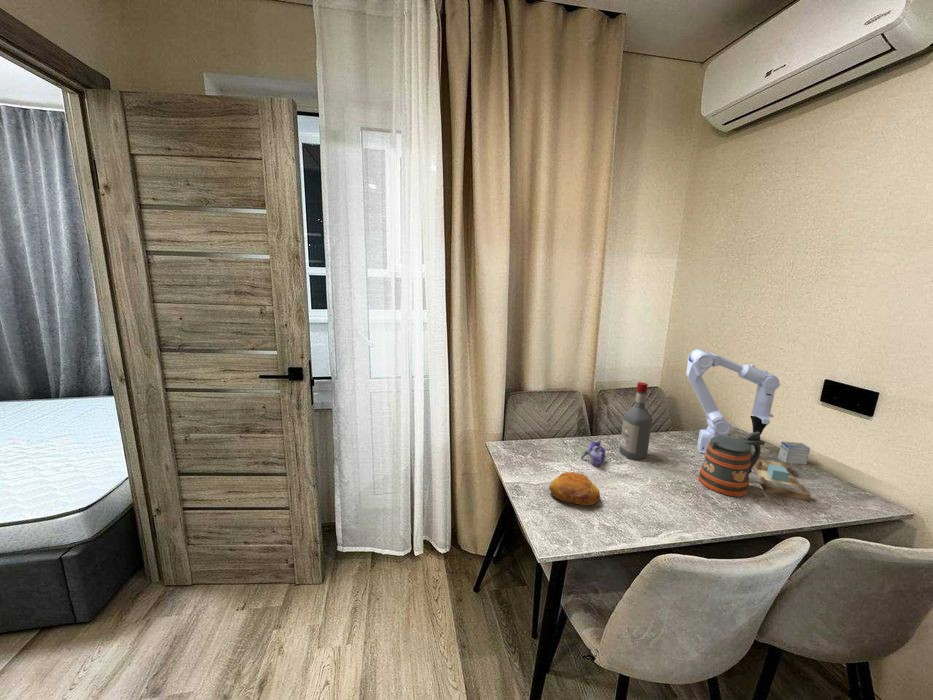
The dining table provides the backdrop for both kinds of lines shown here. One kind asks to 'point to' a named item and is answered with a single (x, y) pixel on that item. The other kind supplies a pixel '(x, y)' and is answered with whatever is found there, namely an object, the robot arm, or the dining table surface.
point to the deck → (761, 471)
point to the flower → (595, 453)
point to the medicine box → (794, 453)
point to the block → (778, 473)
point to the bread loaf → (575, 489)
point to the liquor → (636, 427)
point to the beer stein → (730, 463)
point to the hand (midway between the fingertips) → (756, 434)
